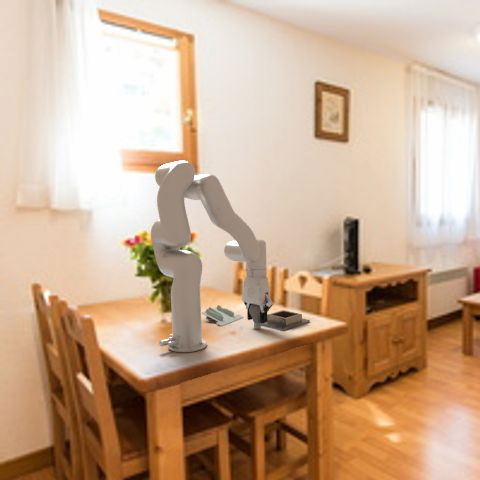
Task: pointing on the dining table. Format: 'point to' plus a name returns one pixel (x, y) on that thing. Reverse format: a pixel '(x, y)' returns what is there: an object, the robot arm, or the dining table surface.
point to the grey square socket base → (284, 320)
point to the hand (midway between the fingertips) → (257, 320)
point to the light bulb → (255, 315)
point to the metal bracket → (221, 315)
